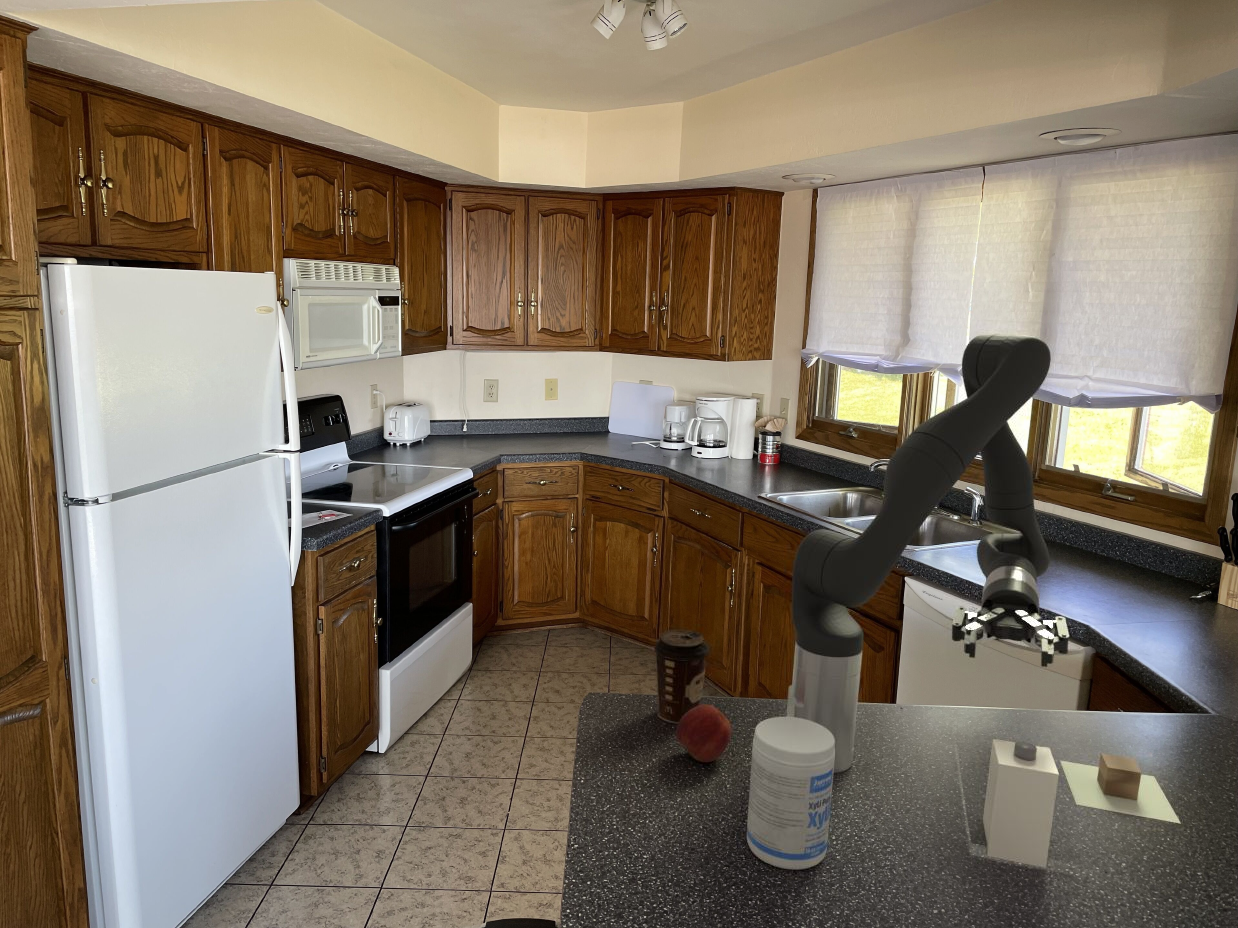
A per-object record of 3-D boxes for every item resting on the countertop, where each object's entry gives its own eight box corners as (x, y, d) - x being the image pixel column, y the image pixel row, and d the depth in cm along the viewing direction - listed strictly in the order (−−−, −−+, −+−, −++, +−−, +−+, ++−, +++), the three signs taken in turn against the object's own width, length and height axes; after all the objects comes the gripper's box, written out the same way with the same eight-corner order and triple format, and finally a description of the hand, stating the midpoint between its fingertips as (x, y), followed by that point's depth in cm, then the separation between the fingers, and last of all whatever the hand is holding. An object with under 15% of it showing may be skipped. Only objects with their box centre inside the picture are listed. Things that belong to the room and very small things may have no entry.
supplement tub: (822, 881, 98) (833, 761, 95) (739, 862, 100) (747, 745, 98) (829, 833, 107) (839, 722, 104) (752, 817, 109) (760, 709, 107)
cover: (987, 855, 103) (999, 753, 101) (982, 826, 109) (993, 729, 107) (1045, 867, 101) (1060, 764, 99) (1037, 837, 108) (1050, 738, 105)
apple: (727, 775, 119) (731, 721, 118) (671, 768, 120) (674, 714, 119) (730, 748, 126) (733, 697, 125) (677, 742, 128) (680, 691, 126)
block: (1103, 794, 116) (1107, 767, 115) (1096, 779, 120) (1100, 752, 119) (1137, 800, 115) (1141, 772, 114) (1129, 785, 119) (1133, 758, 118)
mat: (1075, 811, 114) (1076, 804, 113) (1059, 766, 125) (1060, 760, 125) (1179, 830, 110) (1180, 823, 110) (1153, 782, 121) (1154, 776, 121)
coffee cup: (706, 705, 140) (710, 629, 138) (706, 729, 132) (711, 649, 130) (652, 701, 141) (656, 625, 139) (649, 725, 133) (653, 645, 130)
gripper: (958, 572, 127) (949, 623, 113) (1067, 581, 121) (1071, 636, 107) (957, 617, 129) (948, 673, 115) (1063, 629, 123) (1068, 689, 109)
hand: (1007, 655), depth 111 cm, fingers open, 8 cm apart
